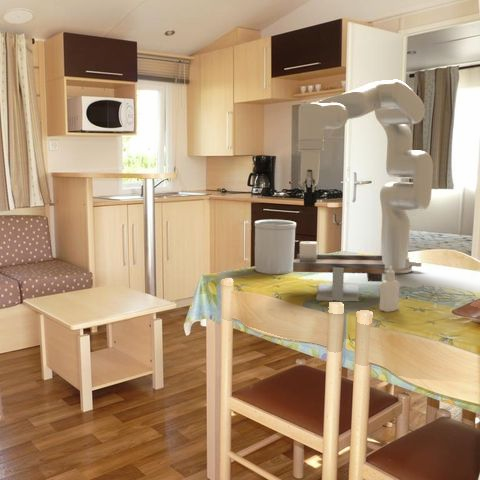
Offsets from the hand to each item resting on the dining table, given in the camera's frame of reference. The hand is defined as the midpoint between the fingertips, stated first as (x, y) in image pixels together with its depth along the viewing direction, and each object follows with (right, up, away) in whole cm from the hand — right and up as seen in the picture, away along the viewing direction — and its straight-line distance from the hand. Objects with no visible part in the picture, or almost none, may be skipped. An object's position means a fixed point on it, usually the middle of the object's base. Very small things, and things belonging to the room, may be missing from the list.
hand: (310, 204), depth 174 cm
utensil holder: (-9, -22, +36) cm, 43 cm away
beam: (+9, -22, +2) cm, 24 cm away
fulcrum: (+9, -27, +2) cm, 28 cm away
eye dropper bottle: (+20, -30, -15) cm, 39 cm away
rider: (0, -17, +3) cm, 18 cm away
